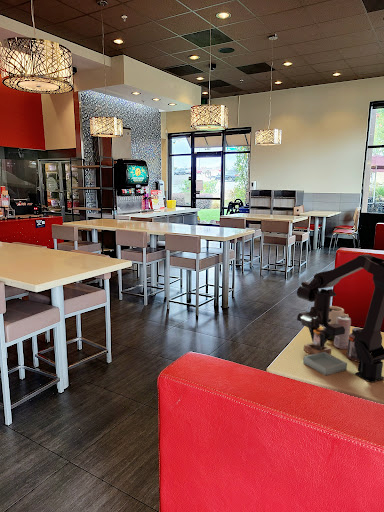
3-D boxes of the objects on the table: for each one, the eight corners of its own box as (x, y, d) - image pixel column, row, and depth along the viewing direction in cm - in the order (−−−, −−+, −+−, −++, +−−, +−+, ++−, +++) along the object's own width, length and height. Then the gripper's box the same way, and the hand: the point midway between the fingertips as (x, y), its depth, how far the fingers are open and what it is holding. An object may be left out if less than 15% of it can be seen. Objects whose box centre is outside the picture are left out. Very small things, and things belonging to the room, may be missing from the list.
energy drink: (345, 344, 154) (348, 316, 152) (349, 349, 149) (353, 320, 147) (332, 343, 154) (335, 315, 152) (335, 348, 149) (338, 319, 147)
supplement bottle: (349, 353, 145) (352, 325, 143) (365, 358, 141) (369, 329, 140) (344, 358, 141) (347, 329, 139) (361, 363, 137) (364, 333, 135)
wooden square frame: (330, 354, 144) (331, 348, 144) (317, 357, 141) (318, 351, 140) (316, 347, 150) (317, 341, 150) (303, 350, 147) (304, 344, 146)
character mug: (345, 337, 162) (349, 308, 159) (345, 343, 155) (349, 312, 153) (319, 333, 166) (321, 304, 163) (317, 338, 159) (320, 308, 157)
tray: (346, 369, 131) (347, 363, 131) (325, 375, 127) (326, 368, 126) (323, 358, 140) (324, 351, 140) (303, 363, 135) (303, 356, 135)
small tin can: (325, 353, 145) (327, 330, 143) (317, 355, 143) (319, 332, 141) (317, 349, 148) (319, 327, 147) (309, 350, 146) (311, 328, 145)
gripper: (288, 300, 147) (285, 339, 149) (325, 315, 130) (321, 358, 133) (309, 297, 152) (306, 334, 154) (348, 311, 136) (343, 352, 138)
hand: (317, 344), depth 145 cm, fingers closed on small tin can, 4 cm apart
